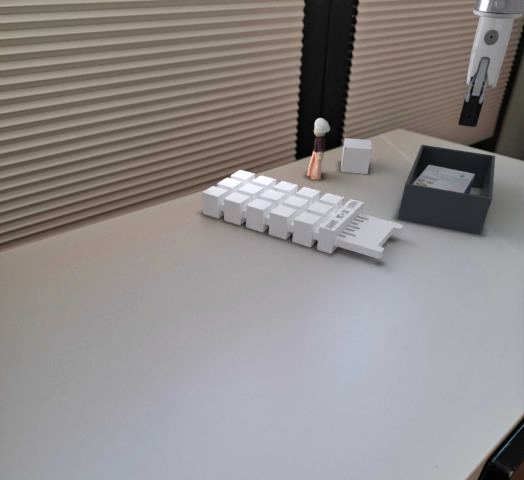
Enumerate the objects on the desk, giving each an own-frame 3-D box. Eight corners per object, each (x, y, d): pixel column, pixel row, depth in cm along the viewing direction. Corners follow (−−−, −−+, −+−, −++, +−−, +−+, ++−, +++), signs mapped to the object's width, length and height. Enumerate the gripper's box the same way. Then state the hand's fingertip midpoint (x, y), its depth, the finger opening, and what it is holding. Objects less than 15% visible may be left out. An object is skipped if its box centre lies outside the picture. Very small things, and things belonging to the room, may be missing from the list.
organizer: (240, 169, 102) (407, 214, 89) (240, 192, 105) (402, 238, 92) (202, 192, 94) (381, 245, 81) (203, 216, 97) (376, 270, 84)
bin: (413, 178, 114) (421, 144, 109) (483, 190, 110) (495, 155, 106) (396, 221, 98) (405, 184, 93) (478, 237, 94) (492, 199, 89)
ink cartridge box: (421, 189, 109) (401, 213, 99) (427, 163, 105) (407, 186, 96) (468, 200, 105) (452, 226, 96) (476, 173, 102) (460, 197, 92)
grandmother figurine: (303, 172, 115) (309, 113, 106) (320, 172, 115) (326, 113, 107) (310, 186, 109) (315, 124, 101) (327, 186, 109) (334, 124, 101)
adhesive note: (366, 166, 119) (371, 140, 115) (367, 176, 114) (372, 149, 110) (340, 164, 119) (344, 137, 115) (340, 174, 115) (344, 146, 111)
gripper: (526, 12, 74) (487, 140, 86) (525, -1, 85) (490, 116, 97) (472, 8, 76) (441, 134, 88) (478, -4, 86) (449, 111, 99)
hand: (467, 124), depth 92 cm, fingers closed
